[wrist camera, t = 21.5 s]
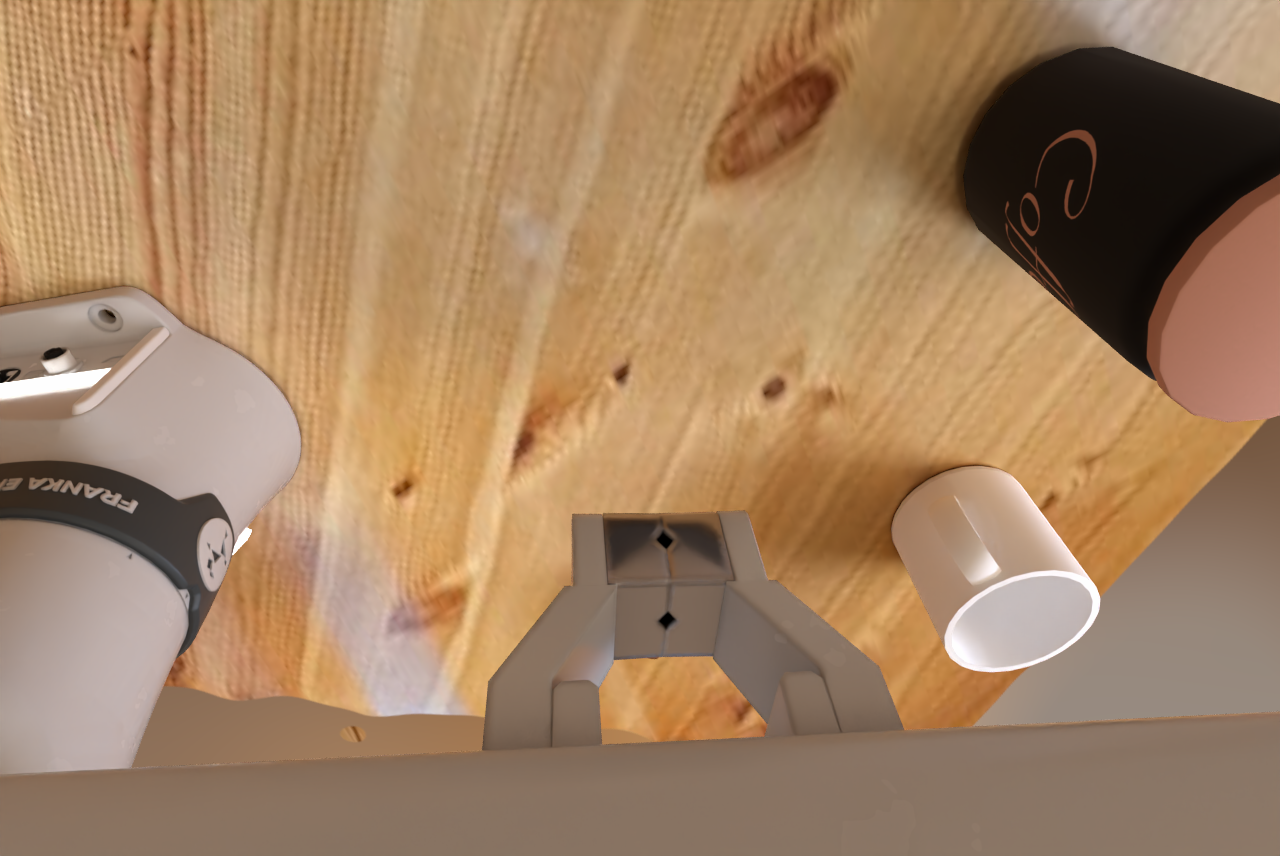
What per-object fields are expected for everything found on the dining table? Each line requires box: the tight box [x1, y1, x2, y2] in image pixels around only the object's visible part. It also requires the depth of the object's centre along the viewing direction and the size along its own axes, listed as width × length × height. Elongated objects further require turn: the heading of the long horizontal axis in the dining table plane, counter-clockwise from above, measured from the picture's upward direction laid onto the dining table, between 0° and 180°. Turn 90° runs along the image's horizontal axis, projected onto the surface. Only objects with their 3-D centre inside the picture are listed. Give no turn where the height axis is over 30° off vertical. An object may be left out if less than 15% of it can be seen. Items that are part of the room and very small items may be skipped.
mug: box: [891, 466, 1100, 672], centre depth 53 cm, size 13×10×10 cm
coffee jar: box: [963, 47, 1280, 422], centre depth 35 cm, size 11×11×18 cm
